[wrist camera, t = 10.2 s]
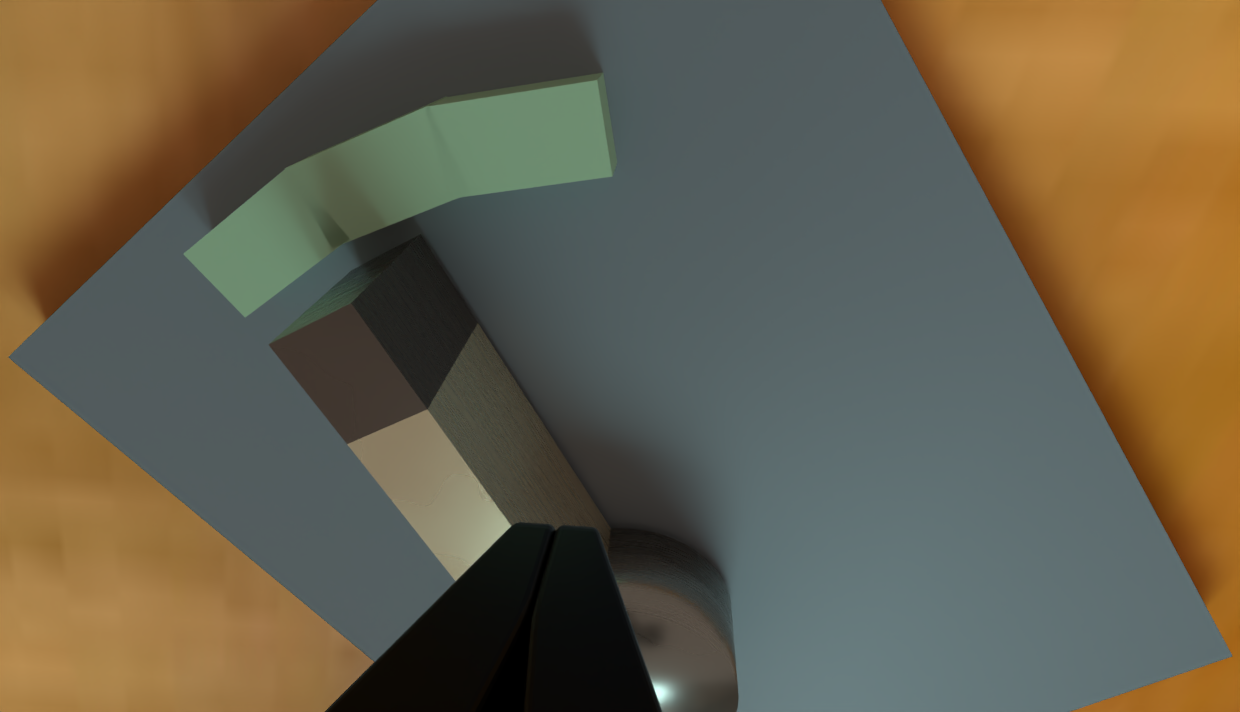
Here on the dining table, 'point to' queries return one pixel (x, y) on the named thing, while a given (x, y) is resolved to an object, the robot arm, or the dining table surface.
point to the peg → (490, 458)
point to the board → (661, 345)
